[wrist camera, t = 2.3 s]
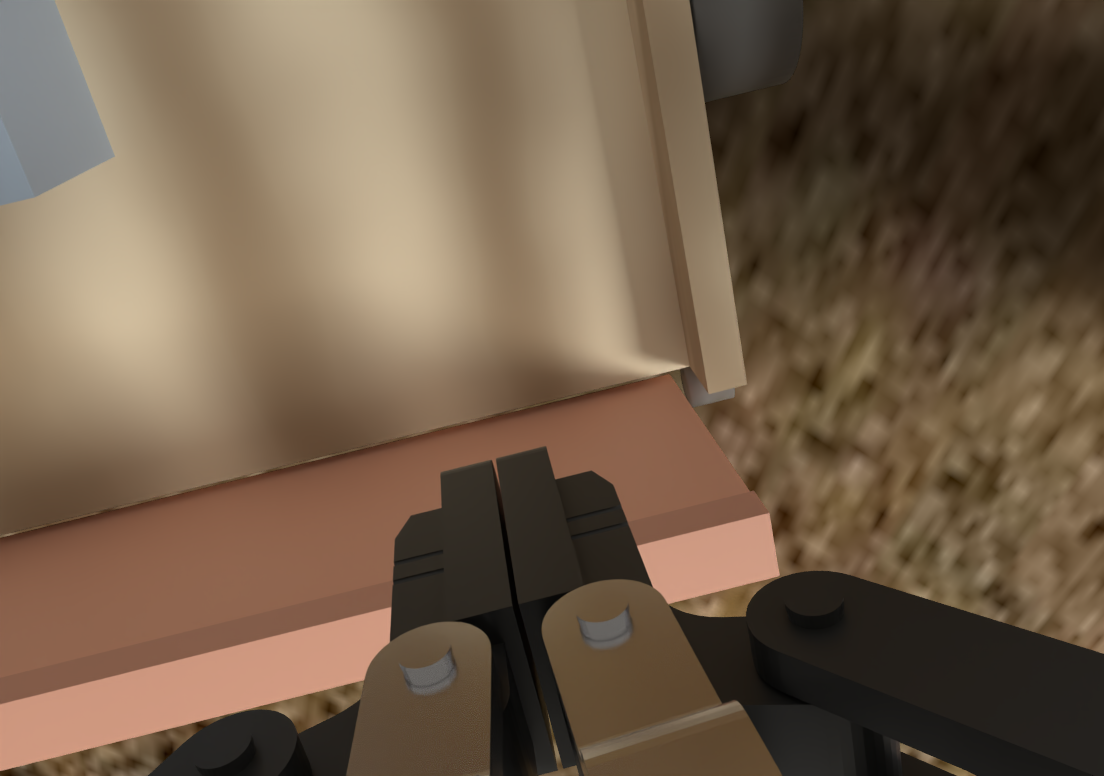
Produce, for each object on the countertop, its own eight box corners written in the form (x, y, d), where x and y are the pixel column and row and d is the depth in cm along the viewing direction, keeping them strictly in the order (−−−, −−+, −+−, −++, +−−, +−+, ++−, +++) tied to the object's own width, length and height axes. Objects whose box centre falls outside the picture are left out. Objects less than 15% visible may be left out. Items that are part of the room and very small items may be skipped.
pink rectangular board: (668, 367, 27) (769, 513, 19) (677, 412, 28) (779, 575, 19) (-8, 532, 27) (-222, 759, 18) (13, 576, 27) (-186, 817, 19)
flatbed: (694, -335, 23) (759, -417, 19) (784, 346, 30) (847, 410, 25) (-439, -74, 23) (-662, -91, 18) (-86, 559, 29) (-183, 664, 25)
